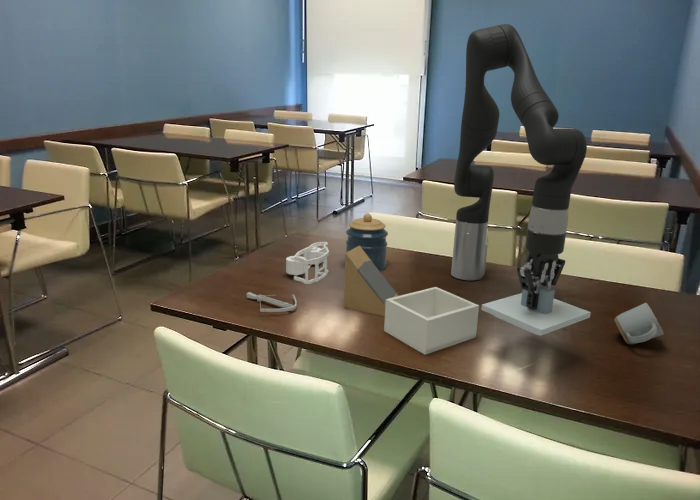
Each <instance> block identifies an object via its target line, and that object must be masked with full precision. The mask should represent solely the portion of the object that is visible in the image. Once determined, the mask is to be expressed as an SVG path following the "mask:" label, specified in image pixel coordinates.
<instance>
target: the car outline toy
mask: <svg viewBox="0 0 700 500" xmlns="http://www.w3.org/2000/svg"><path fill="white" fill-rule="evenodd" d="M328 245H329V243H328V241H317V242H314V243H311V244H310V245H309V246H307V247H305V248H303V249H301V250H299V251H297V252H296V253H295V254H294V255H291V256H287V257H286V259H285V272H286V274H288V275H290V276H291V275H292V276H293V280H294V281H296V282H297V281H298V282H300V283H303V284H304V285H311V284H314V283H316V282H319V281H321V280H322V279H324V278H325V277H327V276H328V273H329V269H328V257H329V255H330V250H329V248H328ZM321 247H322V248H321ZM301 255H303V256H301ZM322 262H323V264H322V267H320V266H319V265H320V264H321V263H322ZM313 265H314V278H312V279H309V269H310V268H311V267H312V266H313ZM319 267H320V268H319ZM323 270H324V271H323ZM303 274H305V277H304V278H302V277H300V276H301V275H303ZM299 275H300V276H299ZM319 275H320V276H319Z"/></svg>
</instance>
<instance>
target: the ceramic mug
mask: <svg viewBox="0 0 700 500" xmlns="http://www.w3.org/2000/svg"><path fill="white" fill-rule="evenodd" d="M613 321H614V323H615V324H616V327H617V328H618V331H619V332H620V334H621V336H622V338H623V340H624V342H625V343H626V344H627V345H636V344H638V343H644V342H647V341H649V340H651V339H655V338H657V337H660V336H662V335H664V331H663V328H662V327H661V325H660V323H659V322H658V319H657V317H656V316H655V314H654V312H653V310H652V308H651V307H650V305H649V304H648V303H647V302H644V303H642V304H640V305H638V306H636V307H635V306H634V307H633V308H631V309H628V310H626V311H624V312H622V313H620V314H618V315H617V316H616V317H614V320H613Z"/></svg>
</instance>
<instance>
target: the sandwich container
mask: <svg viewBox="0 0 700 500" xmlns="http://www.w3.org/2000/svg"><path fill="white" fill-rule="evenodd" d="M343 288H344V289H343V291H344V292H343V294H344V296H343V307H344V309H348V310H354V311H359V312H363V313H367V314H372V315H376V316H381V317H385V306H386V299H389V298H393V297H397V296H400V295H399V294H398V293H397V292H396V290H395V289H394V288H393V286H392V285H391V284H390V282H388V281H387V279H386V278H385V277H384V275H383V274H382V273H381V271H379V270H378V269H377V268H376V266H375V265H374V264H373V262H372V261H371V260H370V258H369V257H368V256H367V254H366V253H365V252H364V251H363V249H362V248H361V247H360V246H358V247H356V248H354V249H352V250H350V251H348V252H346V251H345V255H344V287H343Z"/></svg>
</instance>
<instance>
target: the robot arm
mask: <svg viewBox="0 0 700 500" xmlns="http://www.w3.org/2000/svg"><path fill="white" fill-rule="evenodd" d="M523 42H524V41H522V38H521V36H520V34H519V32H518V31H517V29H516V27H514V26H513V25H511V24H509V23H504V24H503V23H502V24H497V25H493V26H489V27H488V26H487V27H483V28H479V29H476V30H473V31H472V32H471V33H470V34H469V35H468V39H467V42H466V49H465V88H464V89H465V90H464V91H465V92H464V101H463V109H462V115H461V123H460V124H461V125H460V137H459V152H458V156H457V160H456V161H457V163H456V168H455V172H454V173H455V174H454V180H453V188H454V193H455V194H456V195H457V196H460V197H463V198H475V199H476V198H477V199H478V198H479V199H478V200H477V201H476V202H474V203H473V204H471V205H467V206H462V207H461V208H458V209H457V210H456V217H455V228H454V238H453V241H454V242H453V250H452V260H451V271H450V275H451V276H452V277H454V278H455V279H459V280H462V281H463V280H464V281H478V280H481V279H482V278H483V277H484V276H485V272H486V263H487V253H488V245H487V237H488V236H487V235H488V228H489V226H488V225H489V215H490V205H491V201H492V199H491V198H492V192H493V187H494V179H495V171H494V169H493V167H492V166H491V165H484V164H483V165H482V164H480V165H479V164H472V162H473V161H474V160H475V159H476V158H477V157H478V156H479V155H480V154H481V153H483V151H485V150H486V149H487V148H488V147H489V146H490V145H491V144H492V142H493V141H494V140H495V138H496V136H497V133H498V129H499V123H500V110H499V107H498V105H497V102H496V101H495V99H494V98H493V97H492V95H491V94H490V93H489V91H488V89H487V88H486V86H485V77H486V73H487V72H489V71H494V70H498V69H503V68H507V67H508V68H510V69H511V71H512V72H513V75H514V77H513V81H512V87H511V92H510V103H511V107H512V109H513V110H514V114H515V115H516V116H517V118H518V119H519V121H520V123H521V124H522V126H523V128H524V131H525V137H526V142H527V146H528V151H529V154H530V156H531V157H532V159H533V160H534V161H536V162H537V163H538V164H540V165H544V166H553V167H552V169H551V171H550V172H549V173H548V174H546V175H543V176H540V177H539V178H537V179H536V181H535V183H534V188H533V195H532V201H531V204H532V205H531V209H530V212H529V216H528V220H527V221H528V222H527V228H526V229H527V230H526V231H527V232H526V237H525V248H526V251H527V250H528V251H529V256H528V258H527V263H526V264H525V263H524V264H525V265H523V266H522V265H517V268H516V271H517V277H518V280H519V285H520V290H521V289H523V290H527V291H528V295H527V302H526V306H527V307H528V308H530V309H532V310H535V309H537V304H538V297H539V290H540V286H541V285H543V286H546V287H549V288H552V286H553V287H555V286H556V285H557V283H558V281H559V278H560V276H561V274H562V271H563V269H564V267H565V264H566V260H565V259H563V258H559V255H561V254H563V253H564V251H565V243H566V238H567V237H566V236H567V231H568V224H569V207H570V202H571V201H570V200H571V194H572V189H573V186H574V185H575V182H576V179H577V178H578V175H579V173H580V171H581V168H582V165H583V163H584V162H585V159H586V157H587V155H586V154H587V149H588V147H587V146H588V145H587V139H586V137H585V135H584V133H583V132H582V131H581V130H580V129H577V128H564V127H563V128H561V127H560V128H554V127H555V126H556V125H557V123H558V122H559V117H560V116H559V111H558V109H557V107H556V106H555V104H554V103H553V101H552V100H551V98H550V97H549V95H548V94H547V92H546V91H545V89H544V87H543V86H542V84H541V82H540V80H539V79H538V76H537V74H536V71H535V69H534V67H533V65H532V61H531V59H530V57H529V54H528V52H527V49H526V48H525V45H524V43H523ZM533 275H534V276H536V277H538V278H536V277H534V276H533ZM533 281H534V282H535V283H536V284H535V287H534V284H533Z"/></svg>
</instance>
